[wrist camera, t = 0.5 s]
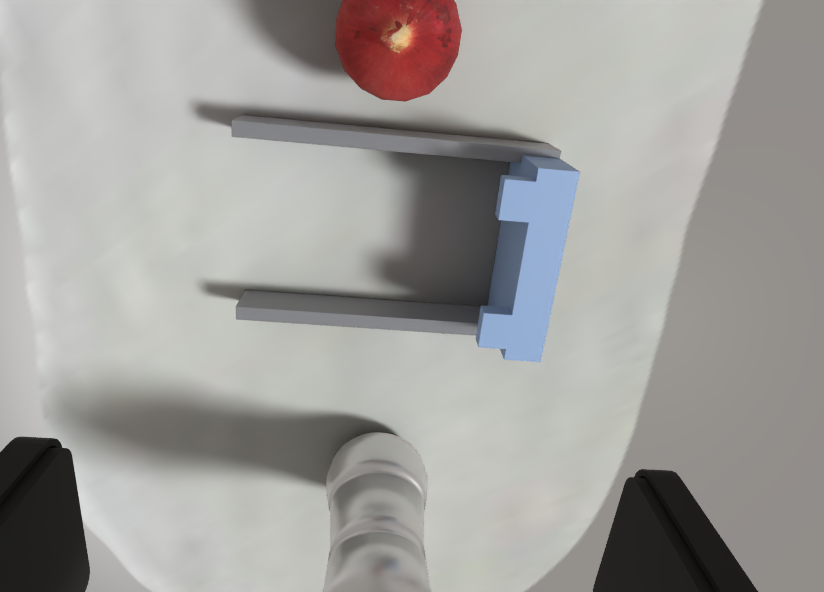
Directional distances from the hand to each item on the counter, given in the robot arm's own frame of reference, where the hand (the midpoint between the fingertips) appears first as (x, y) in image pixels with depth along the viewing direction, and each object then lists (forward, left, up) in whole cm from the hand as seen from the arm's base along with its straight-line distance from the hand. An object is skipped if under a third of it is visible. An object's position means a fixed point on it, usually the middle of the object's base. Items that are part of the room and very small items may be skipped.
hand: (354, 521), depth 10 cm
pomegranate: (-8, +1, -26) cm, 27 cm away
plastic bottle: (+19, +2, -26) cm, 32 cm away
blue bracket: (+2, +9, -26) cm, 27 cm away
